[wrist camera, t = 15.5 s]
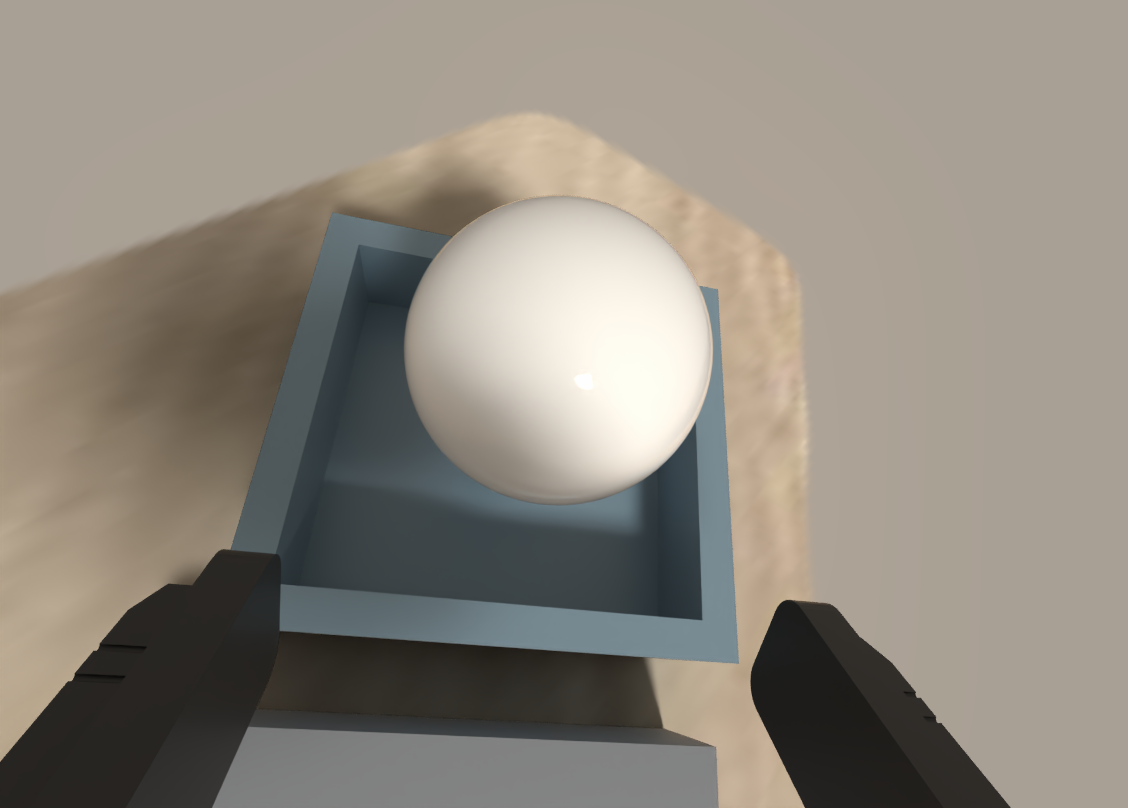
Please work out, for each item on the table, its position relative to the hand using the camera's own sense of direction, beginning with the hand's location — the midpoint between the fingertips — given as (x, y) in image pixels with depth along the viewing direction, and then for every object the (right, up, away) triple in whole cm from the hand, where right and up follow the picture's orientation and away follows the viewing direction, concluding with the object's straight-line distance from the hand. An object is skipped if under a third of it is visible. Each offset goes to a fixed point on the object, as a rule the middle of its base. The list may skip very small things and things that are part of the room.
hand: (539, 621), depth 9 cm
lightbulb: (-2, +1, +10) cm, 10 cm away
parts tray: (-2, +1, +11) cm, 11 cm away
